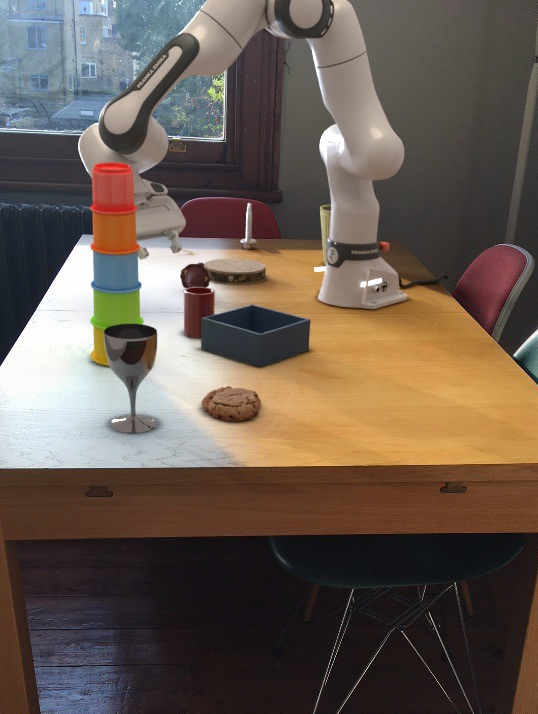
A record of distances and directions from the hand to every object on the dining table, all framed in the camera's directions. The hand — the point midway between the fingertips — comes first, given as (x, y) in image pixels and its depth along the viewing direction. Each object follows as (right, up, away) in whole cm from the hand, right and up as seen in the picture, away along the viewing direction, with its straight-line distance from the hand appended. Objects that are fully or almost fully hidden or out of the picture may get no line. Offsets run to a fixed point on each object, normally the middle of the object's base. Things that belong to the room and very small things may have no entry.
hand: (162, 254), depth 181 cm
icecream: (+5, 0, +32) cm, 32 cm away
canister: (+8, -16, +1) cm, 18 cm away
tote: (+19, -21, -7) cm, 30 cm away
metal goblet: (0, -40, -43) cm, 59 cm away
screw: (+17, +25, +79) cm, 84 cm away
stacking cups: (-7, -24, -15) cm, 29 cm away
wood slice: (+14, +8, +46) cm, 49 cm away
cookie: (+16, -37, -36) cm, 54 cm away
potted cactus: (+43, +2, +72) cm, 84 cm away
